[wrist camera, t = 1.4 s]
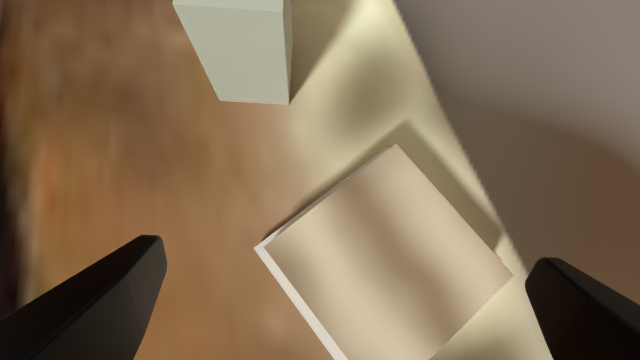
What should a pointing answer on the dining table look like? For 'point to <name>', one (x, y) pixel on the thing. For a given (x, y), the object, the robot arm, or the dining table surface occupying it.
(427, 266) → the birch slab
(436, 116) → the dining table surface
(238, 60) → the sage block
